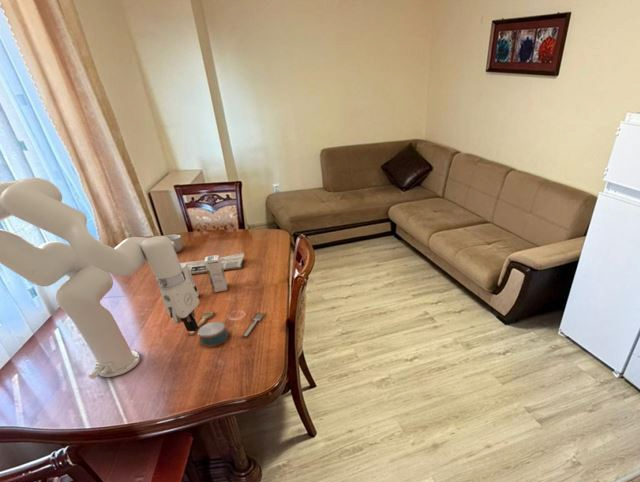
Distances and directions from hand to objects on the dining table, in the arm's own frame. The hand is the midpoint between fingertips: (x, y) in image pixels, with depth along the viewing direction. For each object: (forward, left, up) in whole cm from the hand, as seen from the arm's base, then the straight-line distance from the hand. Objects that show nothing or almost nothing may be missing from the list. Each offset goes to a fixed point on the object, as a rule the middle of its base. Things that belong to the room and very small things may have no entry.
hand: (192, 329), depth 123 cm
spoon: (+19, +11, -11) cm, 24 cm away
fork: (+19, -10, -11) cm, 24 cm away
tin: (+9, +1, -11) cm, 14 cm away
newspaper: (+65, +34, -11) cm, 74 cm away
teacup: (+83, +63, -11) cm, 105 cm away
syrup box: (+45, +17, -11) cm, 50 cm away
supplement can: (+36, +27, -11) cm, 46 cm away
